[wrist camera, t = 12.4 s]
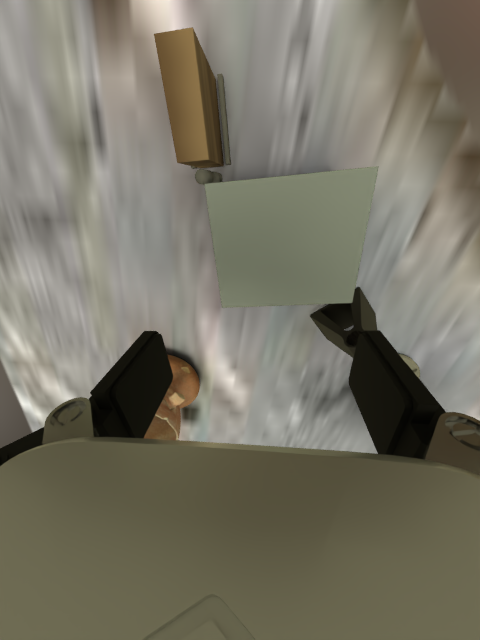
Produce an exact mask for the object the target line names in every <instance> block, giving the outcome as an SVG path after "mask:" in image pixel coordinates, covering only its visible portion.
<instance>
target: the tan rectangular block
mask: <svg viewBox="0 0 480 640" xmlns="http://www.w3.org/2000/svg"><path fill="white" fill-rule="evenodd" d="M154 36H155V42H156V47H157V53H158V58H159V64H160V69H161V75H162V80H163V86H164V91H165V97H166V102H167V108H168V113H169V119H170V124H171V130H172V135H173V141H174V146H175V152H176V157H177V163H181V164H185V165H189V166H194V167H198V168H209V167H219V166H224V162H223V151H222V141H221V130H220V120H219V109H218V98H217V88H216V79H215V77H214V75H213V72H212V70H211V68H210V66H209V63H208V61H207V59H206V57H205V54H204V52H203V50H202V47H201V45H200V43H199V41H198V38H197V36H196V34H195V32H194V29H193V27H192V28H186V29H181V30H175V31H169V32H163V33H157V34H154Z"/></svg>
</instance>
